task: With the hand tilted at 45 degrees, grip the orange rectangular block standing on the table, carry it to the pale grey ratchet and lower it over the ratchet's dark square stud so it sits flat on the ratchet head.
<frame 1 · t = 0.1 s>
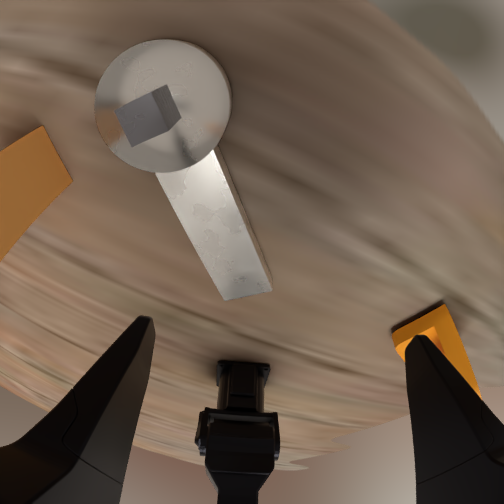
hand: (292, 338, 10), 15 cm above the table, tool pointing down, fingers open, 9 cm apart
orange rectangular block: (37, 166, 21), on the table
bracket: (425, 332, 34), on the table
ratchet: (165, 102, 19), on the table
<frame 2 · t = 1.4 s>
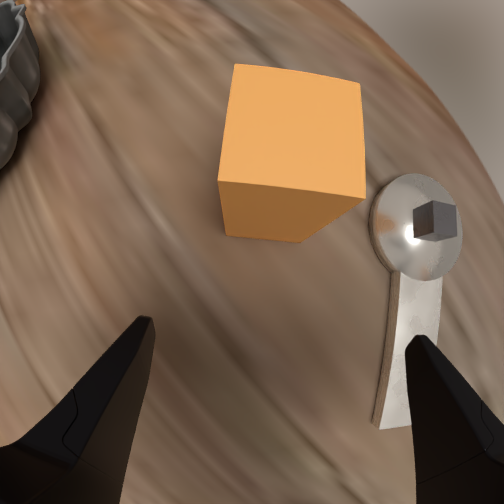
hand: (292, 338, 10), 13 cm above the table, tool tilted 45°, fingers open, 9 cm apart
orange rectangular block: (266, 203, 24), on the table
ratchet: (413, 229, 24), on the table
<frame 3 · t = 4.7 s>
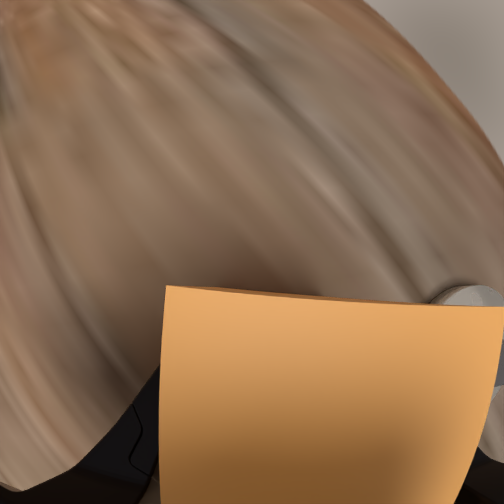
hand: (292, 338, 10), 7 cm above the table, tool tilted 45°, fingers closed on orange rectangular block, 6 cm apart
orange rectangular block: (266, 344, 16), on the table, touching gripper
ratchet: (457, 353, 16), on the table
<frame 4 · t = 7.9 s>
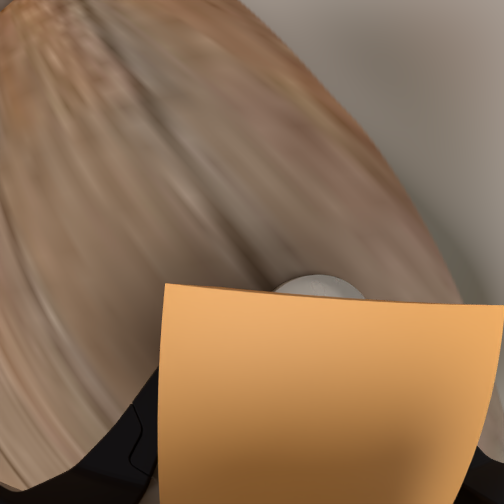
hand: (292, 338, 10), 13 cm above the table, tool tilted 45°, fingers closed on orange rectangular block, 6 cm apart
orange rectangular block: (266, 344, 16), point 6 cm above the table, touching gripper
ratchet: (311, 335, 23), on the table
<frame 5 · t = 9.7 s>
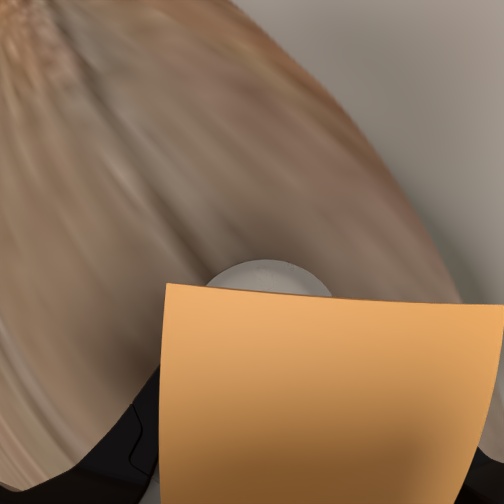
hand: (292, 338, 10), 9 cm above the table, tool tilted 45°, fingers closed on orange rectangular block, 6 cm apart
orange rectangular block: (266, 344, 16), point 3 cm above the table, touching gripper
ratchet: (263, 335, 19), on the table
when the fingers open (9 cm above the table, at t = 11.1 s): orange rectangular block stays where it is, resting on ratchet.
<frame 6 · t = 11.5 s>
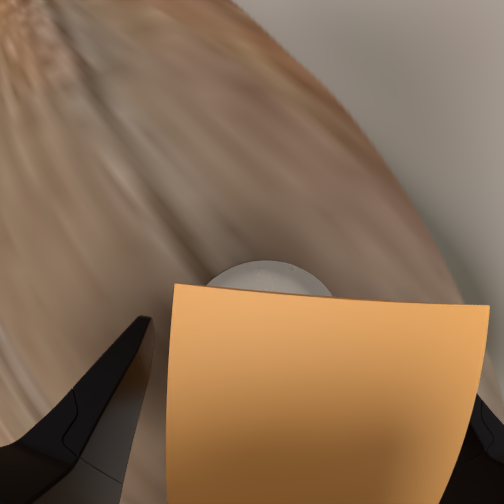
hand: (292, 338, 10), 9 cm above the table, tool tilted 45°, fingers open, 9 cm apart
orange rectangular block: (266, 342, 16), point 2 cm above the table, touching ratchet
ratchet: (263, 337, 18), on the table
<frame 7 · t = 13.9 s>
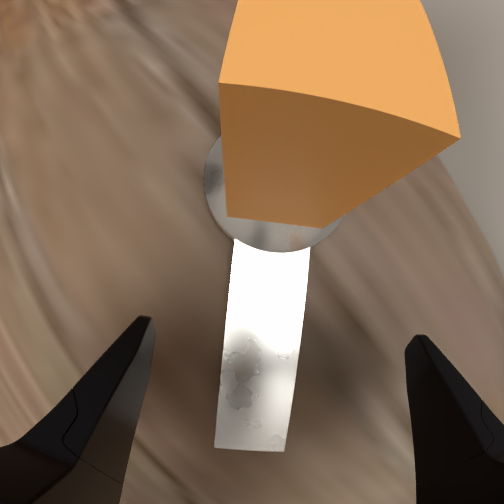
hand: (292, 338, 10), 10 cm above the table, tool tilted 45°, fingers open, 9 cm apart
orange rectangular block: (279, 177, 18), point 2 cm above the table, touching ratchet
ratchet: (275, 186, 20), on the table
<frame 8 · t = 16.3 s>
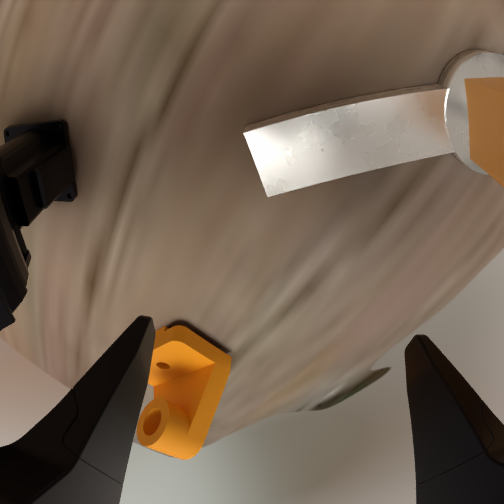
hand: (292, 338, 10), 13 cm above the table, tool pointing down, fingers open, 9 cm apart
orange rectangular block: (497, 116, 14), point 2 cm above the table, touching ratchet
bracket: (175, 349, 33), on the table
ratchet: (483, 108, 16), on the table
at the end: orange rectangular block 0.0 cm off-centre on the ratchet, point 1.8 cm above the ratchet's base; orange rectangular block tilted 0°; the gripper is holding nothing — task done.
